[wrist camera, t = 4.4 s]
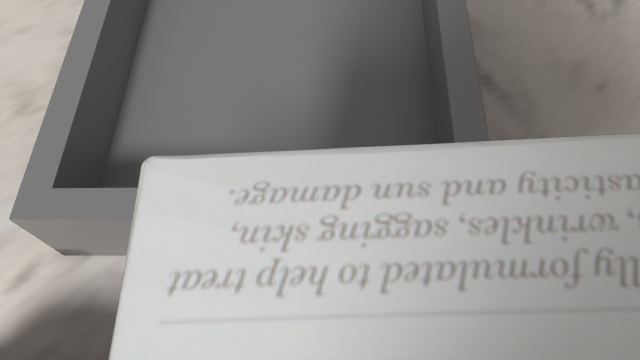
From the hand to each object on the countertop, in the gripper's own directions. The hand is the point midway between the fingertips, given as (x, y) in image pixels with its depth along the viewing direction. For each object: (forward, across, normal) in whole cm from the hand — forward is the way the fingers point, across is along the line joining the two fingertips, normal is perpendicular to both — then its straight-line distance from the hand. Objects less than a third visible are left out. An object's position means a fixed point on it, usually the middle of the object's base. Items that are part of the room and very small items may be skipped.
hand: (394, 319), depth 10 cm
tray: (+12, +2, -4) cm, 13 cm away
